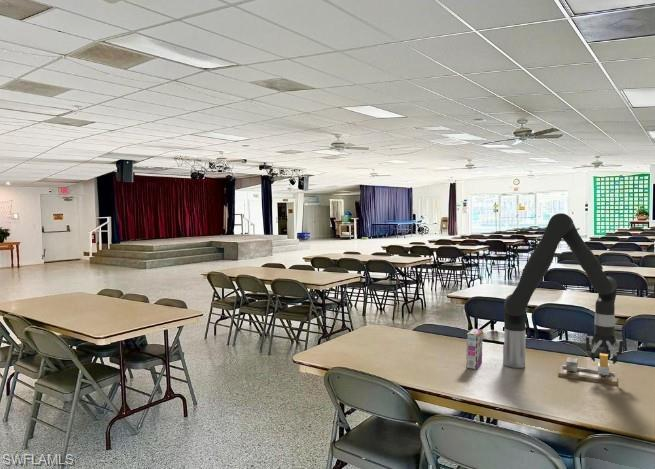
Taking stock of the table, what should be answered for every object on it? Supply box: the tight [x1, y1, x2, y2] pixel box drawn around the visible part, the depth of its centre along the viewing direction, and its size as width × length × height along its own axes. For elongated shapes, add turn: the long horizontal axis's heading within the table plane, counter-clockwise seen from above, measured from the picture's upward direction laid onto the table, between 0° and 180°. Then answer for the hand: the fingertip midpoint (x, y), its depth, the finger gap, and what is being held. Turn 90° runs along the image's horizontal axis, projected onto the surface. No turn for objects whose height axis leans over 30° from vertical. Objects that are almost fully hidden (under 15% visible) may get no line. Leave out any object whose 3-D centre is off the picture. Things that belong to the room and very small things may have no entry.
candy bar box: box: [465, 328, 484, 371], centre depth 220 cm, size 11×5×16 cm, turn 149°
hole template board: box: [557, 357, 618, 386], centre depth 204 cm, size 22×10×6 cm, turn 59°
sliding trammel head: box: [597, 352, 610, 376], centre depth 201 cm, size 4×6×9 cm, turn 149°
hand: (603, 362), depth 201 cm, fingers open, 6 cm apart
